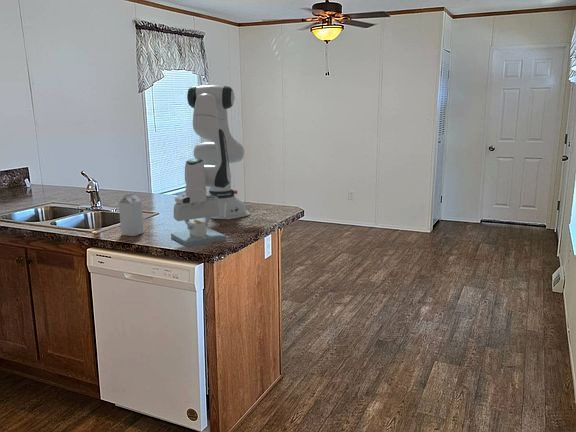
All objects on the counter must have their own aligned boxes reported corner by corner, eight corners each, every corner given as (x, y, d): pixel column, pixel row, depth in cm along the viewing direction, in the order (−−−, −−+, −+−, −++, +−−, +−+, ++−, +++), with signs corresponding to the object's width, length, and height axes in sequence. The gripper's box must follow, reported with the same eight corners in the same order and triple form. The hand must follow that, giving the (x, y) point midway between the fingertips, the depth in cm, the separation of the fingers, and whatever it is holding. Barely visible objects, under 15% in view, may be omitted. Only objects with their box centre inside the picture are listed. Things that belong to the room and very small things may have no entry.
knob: (200, 232, 227) (199, 218, 225) (206, 235, 221) (206, 221, 220) (189, 233, 224) (188, 219, 223) (196, 237, 218) (195, 222, 217)
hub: (208, 232, 235) (207, 221, 234) (225, 240, 220) (225, 229, 219) (171, 237, 225) (170, 226, 224) (187, 246, 211) (186, 235, 210)
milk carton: (121, 235, 231) (117, 194, 227) (131, 231, 237) (128, 191, 233) (134, 236, 228) (130, 194, 224) (143, 232, 235) (140, 192, 231)
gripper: (215, 193, 227) (216, 223, 230) (171, 198, 216) (173, 230, 219) (221, 195, 222) (222, 226, 225) (176, 200, 211) (178, 232, 214)
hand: (197, 228), depth 222 cm, fingers open, 6 cm apart
